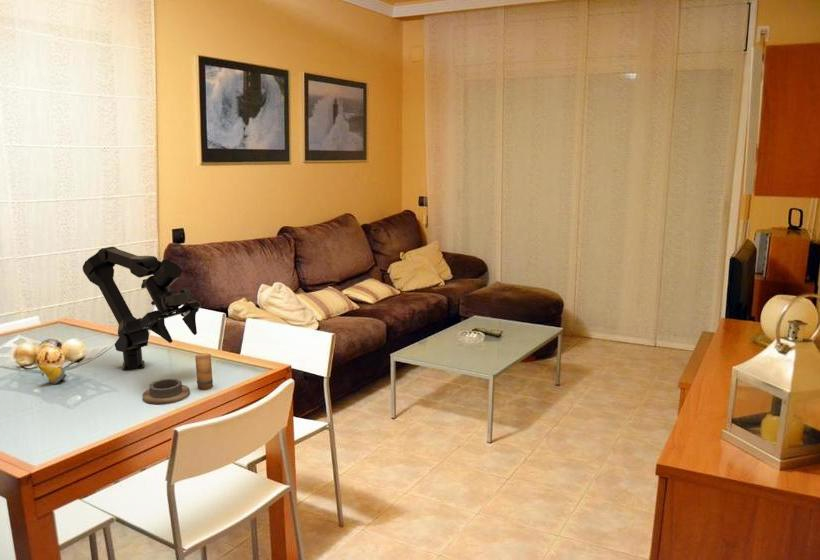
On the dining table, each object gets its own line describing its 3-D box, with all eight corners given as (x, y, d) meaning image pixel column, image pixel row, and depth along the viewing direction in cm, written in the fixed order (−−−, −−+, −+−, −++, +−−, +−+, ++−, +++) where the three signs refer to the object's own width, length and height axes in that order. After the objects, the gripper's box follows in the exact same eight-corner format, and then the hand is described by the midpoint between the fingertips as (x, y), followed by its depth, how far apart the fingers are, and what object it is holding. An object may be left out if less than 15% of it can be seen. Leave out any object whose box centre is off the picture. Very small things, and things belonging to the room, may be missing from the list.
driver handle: (197, 385, 205) (194, 354, 203) (212, 383, 206) (210, 352, 204) (197, 390, 201) (195, 358, 199) (213, 388, 202) (211, 357, 200)
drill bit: (70, 384, 208) (43, 369, 200) (57, 390, 209) (29, 375, 202) (73, 369, 211) (47, 354, 204) (60, 375, 212) (33, 360, 205)
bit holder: (143, 390, 201) (142, 379, 200) (189, 385, 205) (188, 374, 205) (141, 407, 189) (140, 395, 188) (190, 400, 193) (189, 389, 193)
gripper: (146, 287, 195) (171, 334, 193) (198, 275, 210) (221, 319, 209) (129, 305, 201) (152, 351, 199) (180, 292, 217) (202, 334, 215)
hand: (183, 338), depth 205 cm, fingers open, 9 cm apart
